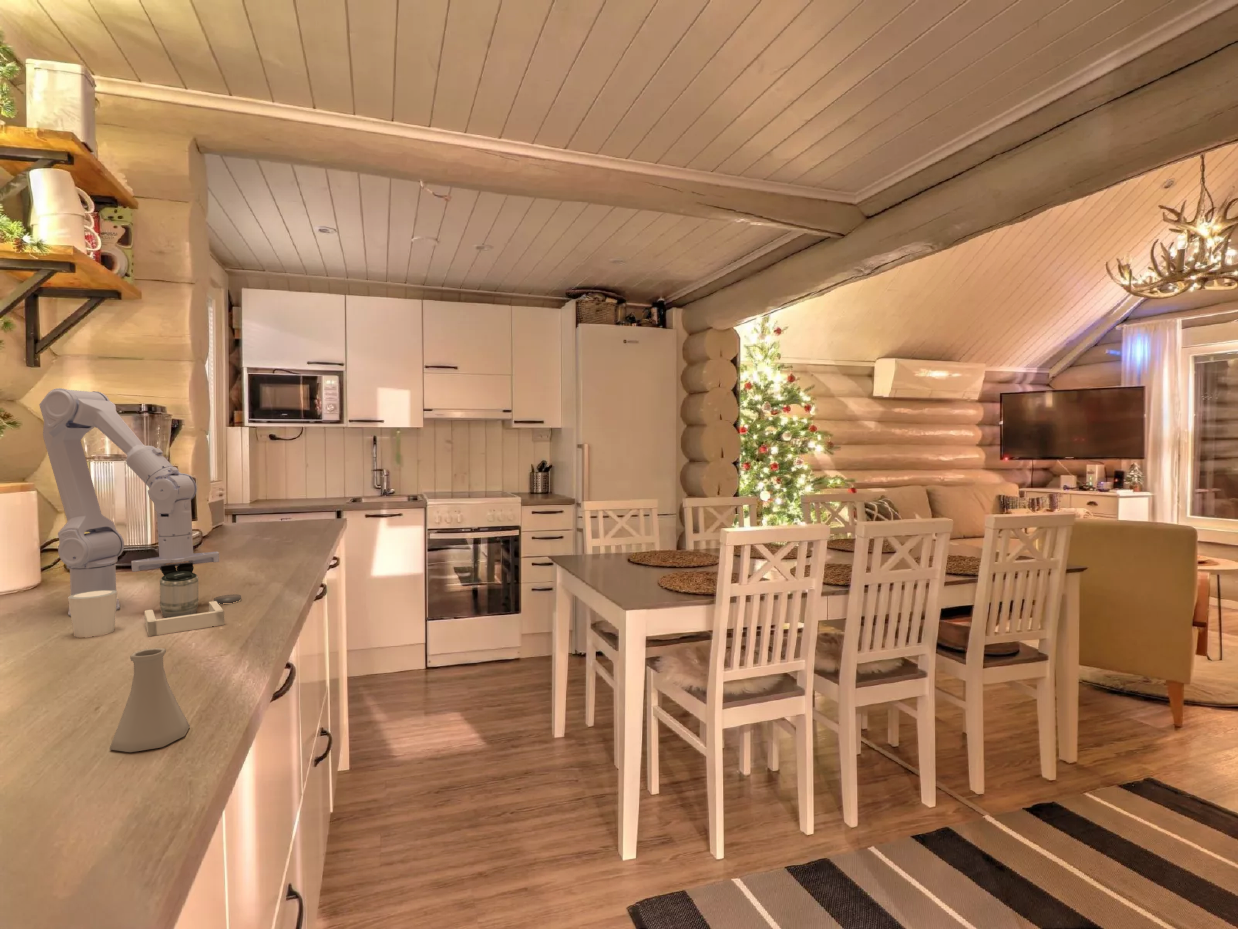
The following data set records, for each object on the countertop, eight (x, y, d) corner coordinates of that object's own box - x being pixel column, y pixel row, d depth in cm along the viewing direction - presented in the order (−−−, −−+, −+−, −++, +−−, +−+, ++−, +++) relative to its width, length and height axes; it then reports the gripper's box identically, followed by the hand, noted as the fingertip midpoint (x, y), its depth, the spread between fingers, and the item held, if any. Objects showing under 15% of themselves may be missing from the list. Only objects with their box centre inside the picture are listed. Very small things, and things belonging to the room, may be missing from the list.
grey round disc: (212, 602, 140) (212, 596, 140) (239, 598, 143) (239, 593, 143) (215, 607, 136) (214, 601, 136) (242, 603, 139) (242, 597, 139)
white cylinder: (91, 639, 113) (89, 598, 113) (58, 637, 115) (57, 597, 114) (128, 628, 120) (127, 589, 120) (97, 626, 121) (95, 588, 121)
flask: (137, 727, 78) (135, 643, 78) (202, 724, 79) (199, 641, 78) (94, 756, 71) (91, 663, 71) (165, 753, 72) (162, 661, 71)
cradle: (144, 624, 123) (144, 610, 123) (216, 613, 130) (216, 600, 130) (148, 636, 115) (147, 622, 115) (224, 624, 122) (224, 611, 122)
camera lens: (205, 611, 131) (205, 573, 130) (172, 621, 126) (172, 581, 124) (185, 604, 134) (185, 567, 133) (152, 613, 128) (152, 574, 127)
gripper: (131, 541, 125) (135, 612, 126) (220, 532, 134) (223, 599, 135) (129, 537, 131) (133, 605, 131) (215, 529, 140) (218, 593, 140)
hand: (178, 602), depth 133 cm, fingers closed, pressing on camera lens
